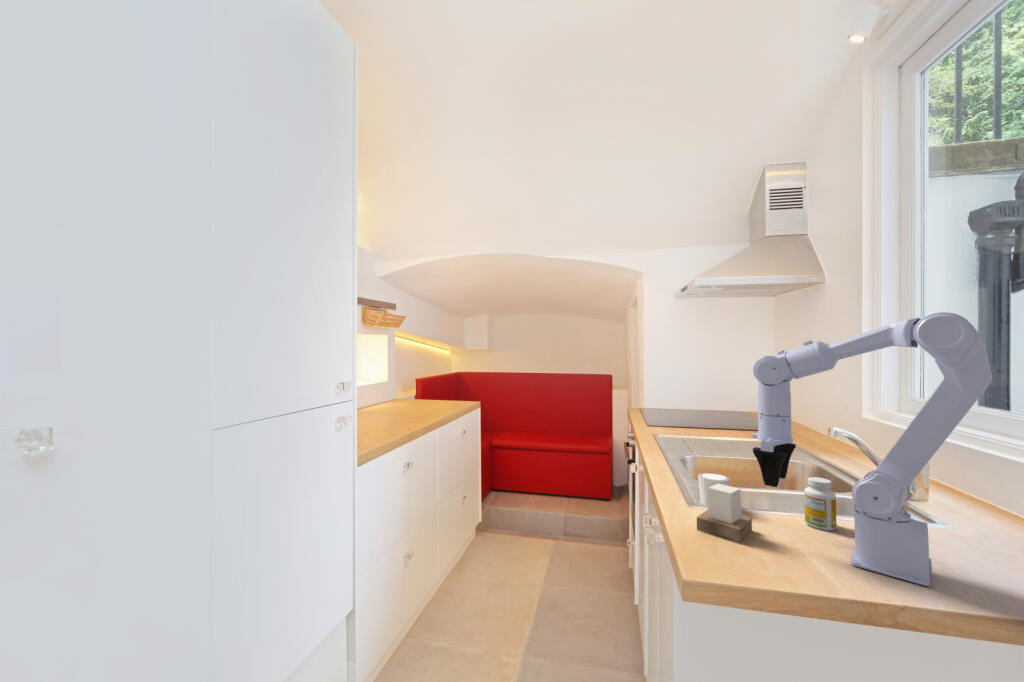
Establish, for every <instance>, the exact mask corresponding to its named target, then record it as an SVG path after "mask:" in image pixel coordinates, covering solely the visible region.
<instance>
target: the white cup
mask: <svg viewBox="0 0 1024 682" xmlns="http://www.w3.org/2000/svg"><path fill="white" fill-rule="evenodd" d="M697 479H698V486H699V487H698V488H699V490H698V491H699V497H700V498H699V499H700V504H701V503H702V504H703V505H705V506H708V487H711V486H713V485H716V484H722V485H726V486H730V477H729V476H727V475H724V474H720V473H715V472H714V473H713V472H700V473H698V475H697Z"/></svg>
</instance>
